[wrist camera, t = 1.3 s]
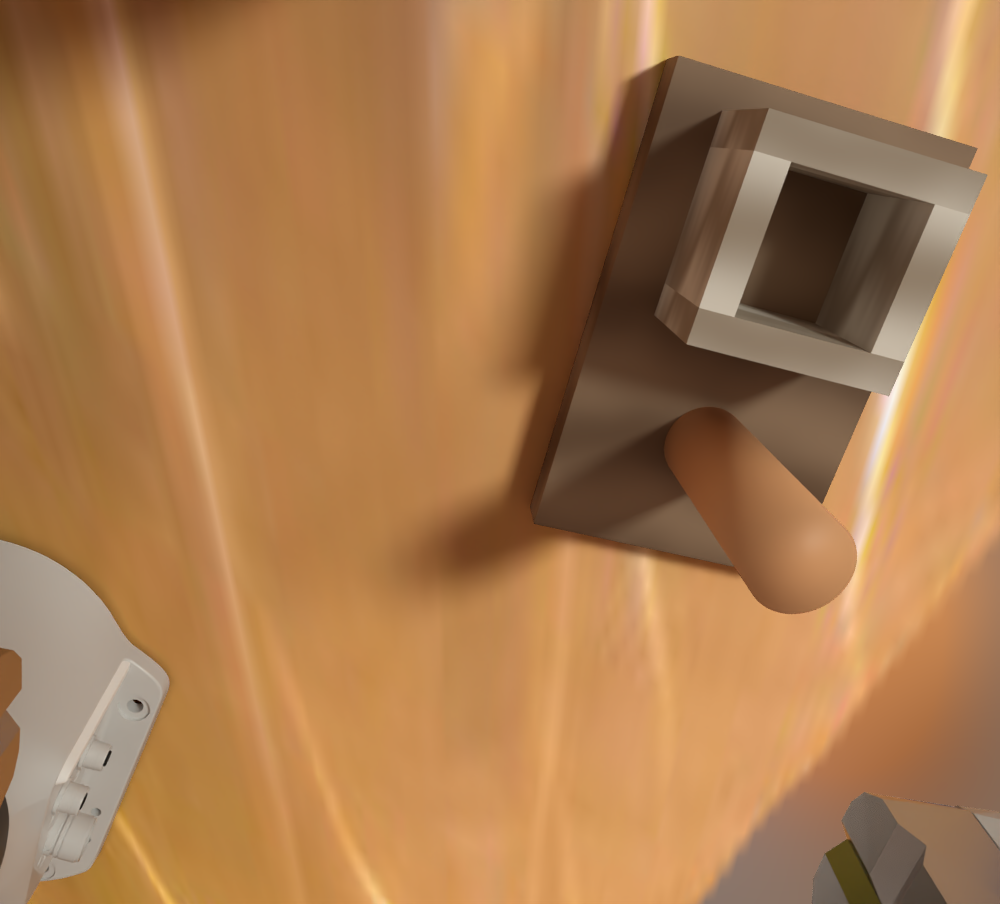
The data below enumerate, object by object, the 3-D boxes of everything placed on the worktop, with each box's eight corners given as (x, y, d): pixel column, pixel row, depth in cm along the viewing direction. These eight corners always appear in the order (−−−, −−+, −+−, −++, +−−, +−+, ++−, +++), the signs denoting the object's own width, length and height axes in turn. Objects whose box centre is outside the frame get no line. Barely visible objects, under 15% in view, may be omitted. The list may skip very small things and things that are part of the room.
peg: (728, 490, 42) (830, 623, 31) (653, 473, 41) (729, 602, 30) (756, 417, 41) (875, 528, 29) (680, 398, 40) (770, 504, 29)
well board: (775, 560, 46) (834, 638, 39) (530, 506, 44) (546, 578, 37) (951, 147, 38) (1064, 151, 32) (666, 59, 36) (719, 43, 29)
